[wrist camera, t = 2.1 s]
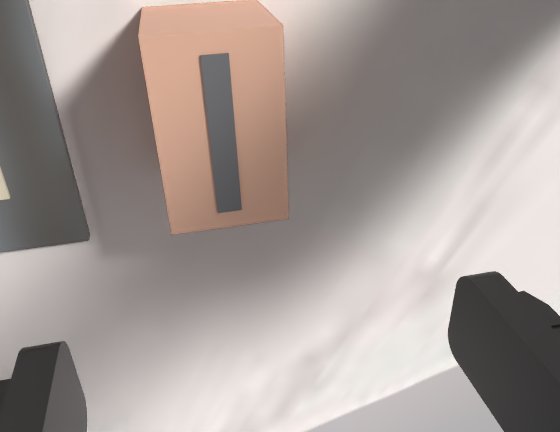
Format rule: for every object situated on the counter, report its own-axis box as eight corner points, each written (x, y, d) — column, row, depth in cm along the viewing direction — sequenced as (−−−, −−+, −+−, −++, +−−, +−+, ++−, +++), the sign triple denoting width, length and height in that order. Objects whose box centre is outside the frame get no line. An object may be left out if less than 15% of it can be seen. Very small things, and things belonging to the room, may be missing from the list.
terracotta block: (255, -2, 24) (283, 25, 18) (264, 161, 28) (289, 220, 23) (142, 6, 23) (137, 36, 18) (168, 172, 27) (171, 236, 22)
